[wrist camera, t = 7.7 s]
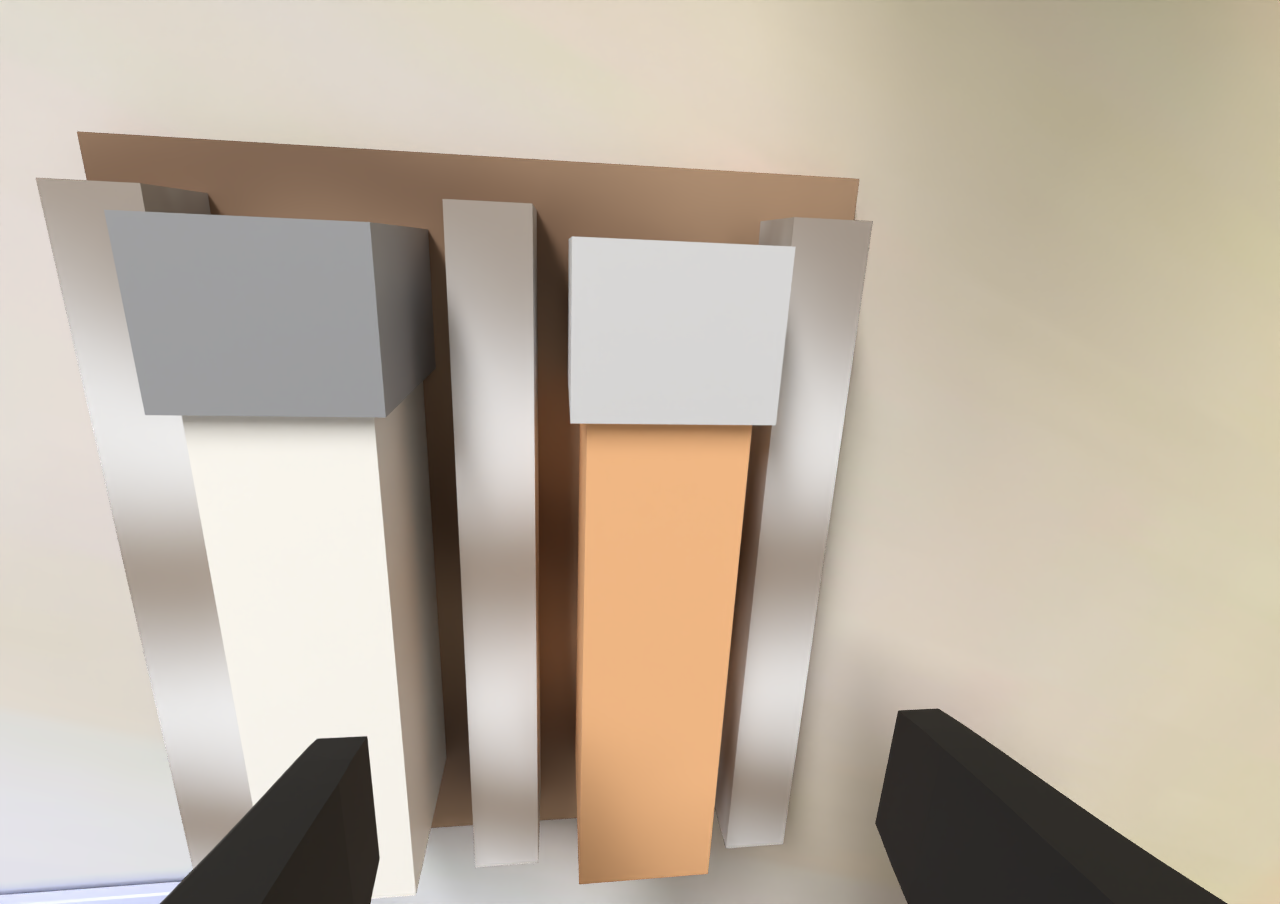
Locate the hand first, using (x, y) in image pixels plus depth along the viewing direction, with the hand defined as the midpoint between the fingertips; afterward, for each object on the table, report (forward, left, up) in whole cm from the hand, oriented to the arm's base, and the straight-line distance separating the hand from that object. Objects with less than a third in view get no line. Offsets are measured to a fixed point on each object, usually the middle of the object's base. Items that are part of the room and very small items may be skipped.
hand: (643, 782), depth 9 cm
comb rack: (0, +2, -9) cm, 9 cm away
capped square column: (0, -1, -8) cm, 8 cm away
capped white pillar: (0, +6, -8) cm, 10 cm away
